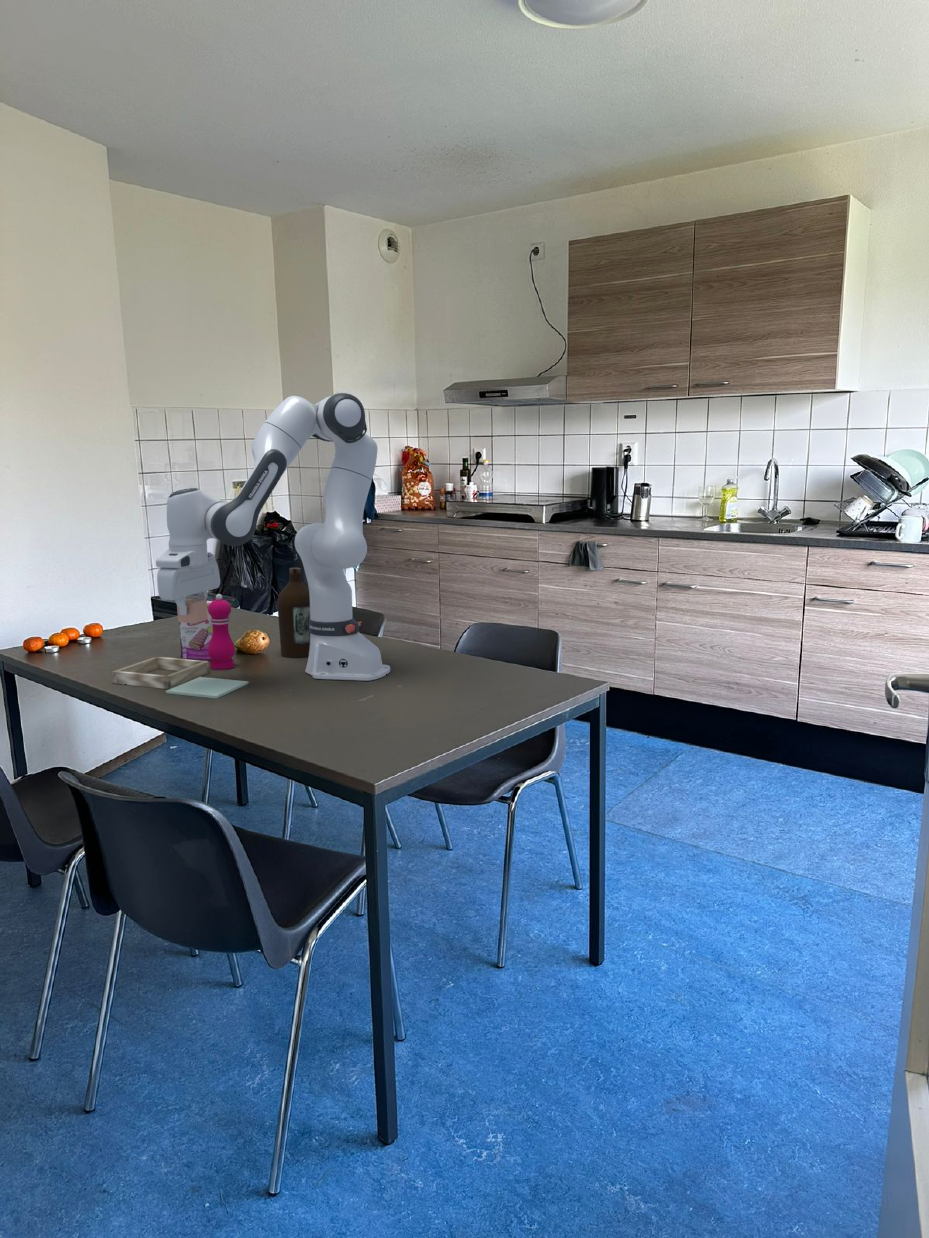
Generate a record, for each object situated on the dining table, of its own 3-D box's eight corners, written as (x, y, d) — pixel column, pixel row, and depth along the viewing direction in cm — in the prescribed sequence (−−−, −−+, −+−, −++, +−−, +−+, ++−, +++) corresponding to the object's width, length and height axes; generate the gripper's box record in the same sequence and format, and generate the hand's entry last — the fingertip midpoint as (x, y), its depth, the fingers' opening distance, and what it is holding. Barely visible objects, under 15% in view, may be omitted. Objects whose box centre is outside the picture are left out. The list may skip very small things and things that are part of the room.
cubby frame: (209, 672, 228) (208, 661, 228) (168, 689, 212) (167, 677, 212) (156, 667, 233) (156, 656, 233) (112, 683, 217) (111, 671, 216)
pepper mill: (228, 670, 230) (225, 596, 226) (203, 669, 232) (199, 595, 228) (240, 664, 237) (237, 592, 233) (216, 663, 239) (212, 591, 235)
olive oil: (271, 653, 250) (268, 568, 245) (303, 648, 257) (300, 564, 252) (292, 660, 242) (289, 571, 238) (323, 654, 249) (321, 568, 245)
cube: (207, 619, 214) (206, 599, 213) (195, 623, 210) (194, 603, 209) (190, 618, 216) (189, 598, 215) (178, 622, 211) (176, 602, 210)
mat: (248, 683, 217) (248, 681, 217) (216, 698, 204) (216, 696, 204) (200, 679, 222) (200, 676, 221) (166, 693, 208) (165, 690, 208)
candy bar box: (180, 660, 241) (177, 602, 238) (187, 656, 246) (184, 599, 243) (219, 661, 240) (216, 603, 237) (225, 657, 245) (223, 600, 242)
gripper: (203, 550, 220) (206, 604, 223) (150, 561, 201) (155, 619, 204) (224, 551, 218) (227, 605, 221) (173, 562, 199) (177, 620, 202)
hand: (192, 612), depth 212 cm, fingers closed on cube, 5 cm apart
